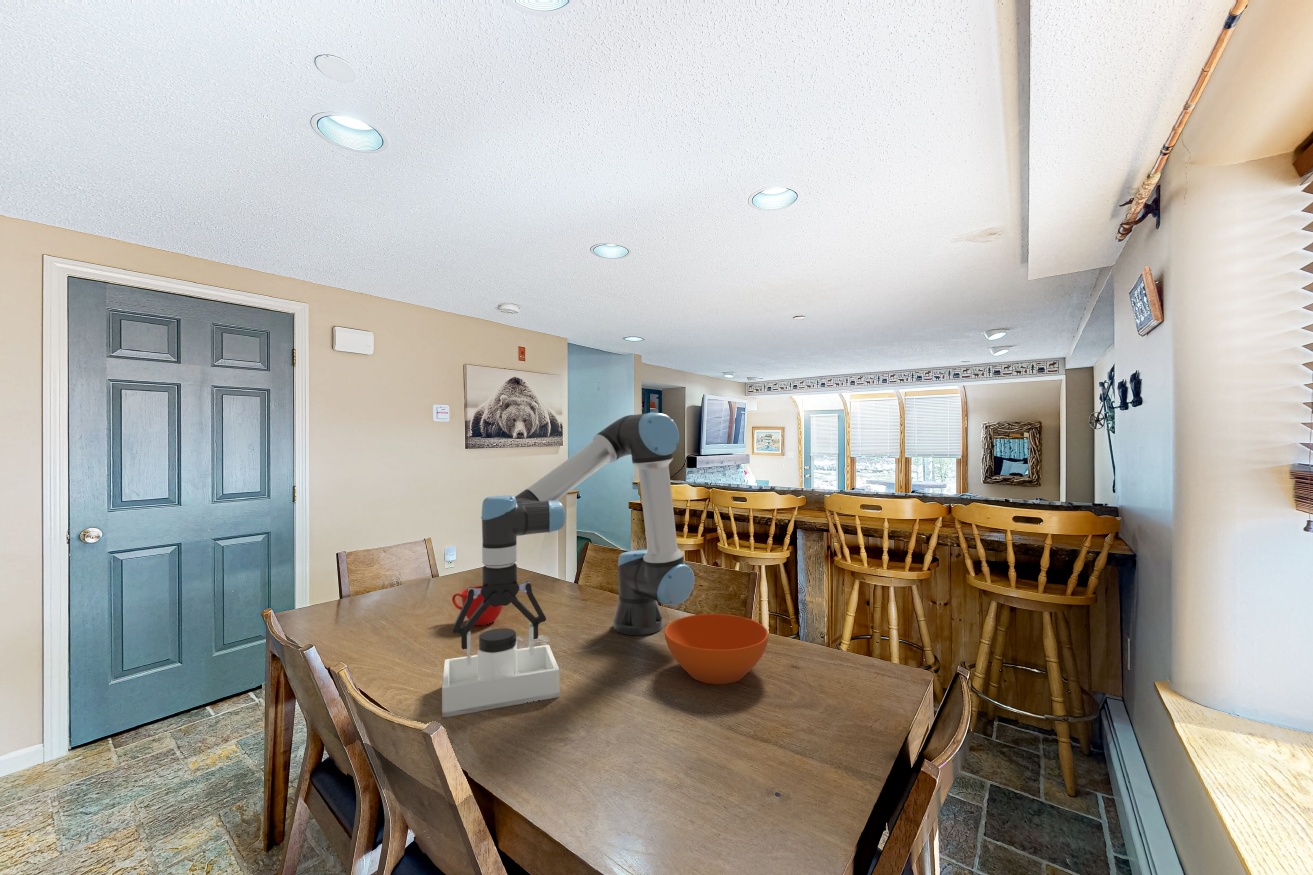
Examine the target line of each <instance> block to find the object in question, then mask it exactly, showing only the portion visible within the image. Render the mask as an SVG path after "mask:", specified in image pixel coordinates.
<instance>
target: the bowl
mask: <svg viewBox="0 0 1313 875" xmlns="http://www.w3.org/2000/svg"><path fill="white" fill-rule="evenodd" d="M664 638H665V642H666V645H667V647H668V650H669V652H670V653H671V655H672V657H673V658H674V660H676V662H677V663H678V664H679V665H680V666H681V668H683V669H684V670H685V672H686V673H687V674H689V676H690V677H692V678H693V679H695V680H696V681H699V682H702V683H704V684H705V683H706V684H711V685H727V684H732V683H736V682H738V681H740V680H742V679H743V678H744V677H745V676H746V675H747V674H748V673H749V672H750V671H751V670H752V669H753V668H754V667H756V665H757V664H758V663H759V661H760V660H761V659H762V657H763V655H764V653H765V651H766V648H767V647H768V646H767V645H768V642H769V632H768V630H767V627H766V626H764V625H763V624H761V623H760V622H758V621H756V620H753V619H751V618H748V617H744V616H740V615H739V616H738V615H733V614H726V613H703V614H702V613H700V614H694V615H693V614H692V615H689V616H688V615H687V616H683V617H680V618H677V619H675V620H673V621H671V622H670V623H669V624H667V626H666V627H665V628H664Z"/></svg>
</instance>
